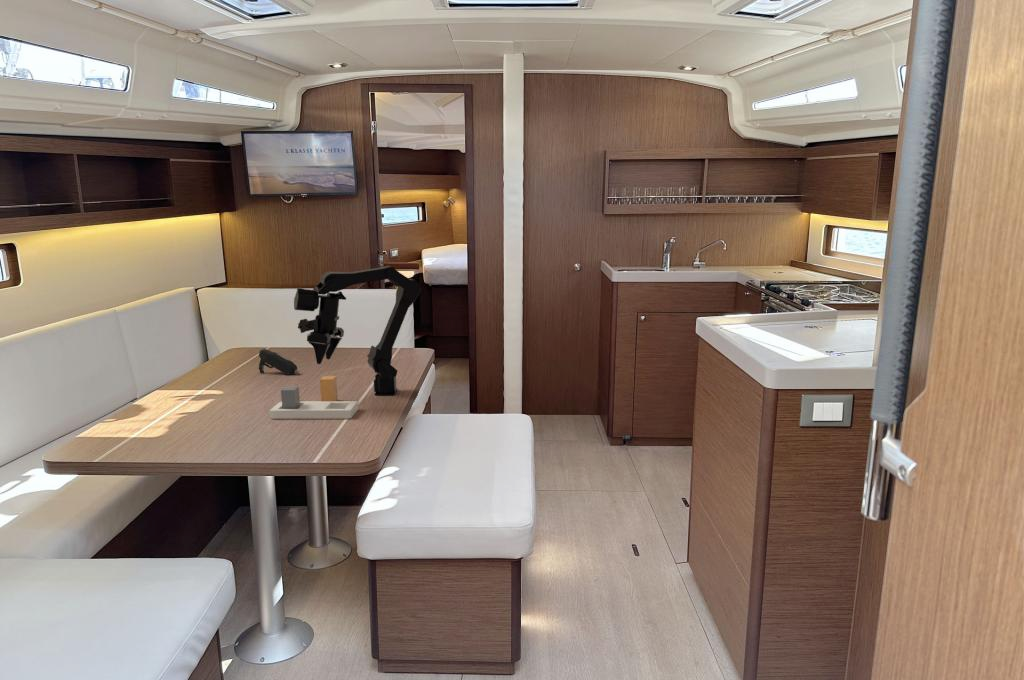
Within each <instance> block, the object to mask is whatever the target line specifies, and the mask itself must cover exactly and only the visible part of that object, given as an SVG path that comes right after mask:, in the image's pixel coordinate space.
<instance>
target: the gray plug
mask: <svg viewBox="0 0 1024 680" xmlns="http://www.w3.org/2000/svg"><path fill="white" fill-rule="evenodd" d="M280 396H281V398H280V399H281V402H282V409H298V408H299V407H300V401H301V397H300V387H299V385H298V386H297V385H295V386H284V387H282V389H280Z"/></svg>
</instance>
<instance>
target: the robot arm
mask: <svg viewBox="0 0 1024 680" xmlns="http://www.w3.org/2000/svg"><path fill="white" fill-rule="evenodd" d="M382 280H388V281H389V282H390V283H392V284H393V285H394V286H395V287H396V292H395V304H394V306H393V309H392V311H391V313H390V316H389V318H388V320H387V323H386V326H385V328H384V331H383V333H382V336H381V338H380V341H379V342H378V344H377V345H376V346H375V345H371V346H370V349H369V353H368V354H367V356H366V357H367V364H368V366H369V367H370V368H371V369H372V370H373V372H374V373H375V376H374V378H375V379H373V391H374V396H394V395H396V393H397V392H398V390H399V389H398V387H397V375H398V369H396V368H395V367H394V366H393V365H391V364H392V359H393V348H394V345H395V342H396V340H397V337H398V335H399V333H400V330H401V327H402V325H403V322H404V321H405V318H406V315H407V312H408V310H409V308H410V307H411V305H413V304H414V302H415V301H416V300H417V299H418V297H419V295H420V293H421V290H422V288H421V285H420V283H419V282H418V281H417V280H415V279H412V278H408V277H407V276H405V275H404V274H403V273H401V272H399V271H398V270H397V269H396V268H395V267H394V266H391V265H384V266H382V267H381V266H380V267H375V268H369V269H363V270H358V271H357V270H355V271H350V272H349V271H348V272H347V271H326V272H324V273H323V274H322V275H321V277H320V280H319V282H318V283H317V285H316V286H314V288H312V289H308V288H302V287H297V288H296V293H295V296H294V298H293V307H294V308H293V309H294V310H295V311H304V312H314V311H316V310H317V309H318V308H319V309H318V314H317V315H316V316H315V318H314V319H310V320H308V319H307V318H304V319H300V320H299V322H298V323H297V325H298V326H297V329H298V330H300V331H299V332H300V333H301V334H302V333H305V332H309V331H310V332H309V333H308V334H307V335H306V336H307V337H306V342H308V344H310V346H312V347H313V350H314V355H315V359H316V364H317V365H321V364H322V362H323V360H324V358H325V360H330V359H331V358H332V356H333V354H334V352H335V351H336V349H337V347H338V346H339V344H340V342H341V341H342V339H343V337H344V334H345V330H344V329H343V328H342V327H337V325H338V320H340V315H339V306H340V300H345V301H346V300H347V297H346V296H345V295H344V294H343V292H342V290H345V289H347V288H350V287H351V286H354V285H359V284H365V283H371V282H378V281H382ZM338 336H339V337H338Z"/></svg>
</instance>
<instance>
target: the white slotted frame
mask: <svg viewBox="0 0 1024 680" xmlns="http://www.w3.org/2000/svg"><path fill="white" fill-rule="evenodd" d="M358 410H359V401H356V400H351V401H350V400H347V401H345V400H343V401H342V400H341V401H339V400H338V401H319V400H318V401H317V400H315V401H310V400H309V401H307V400H305V401H304V400H303V401H301V400H300V407H299V408H298V409H282V401H279V402H277V404H276V405H274V406H273V407H272V408H271V409H269V412H268V413H269V419H271V420H273V419H275V420H277V419H280V420H284V419H285V420H287V419H288V420H290V419H291V420H292V419H295V420H297V419H299V420H302V419H303V420H305V419H307V420H308V419H313V420H314V419H316V420H317V419H318V420H319V419H321V420H323V419H325V420H326V419H327V420H330V419H335V420H337V419H340V420H341V419H343V420H344V419H345V420H346V419H347V420H348V419H352V417H353V416H354V415H355V414H356V412H357V411H358Z"/></svg>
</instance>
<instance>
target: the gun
mask: <svg viewBox="0 0 1024 680" xmlns="http://www.w3.org/2000/svg"><path fill="white" fill-rule="evenodd" d="M258 357H259V358H260V360H259V363H258V369H259V373H260V374H263V375H264V374H265V371H264V368H265V367H267V368H269V369H273V368H275V370H278V371H280V372H281V373H283V374H285V375H287V376H293V375H295V374H299V372H300V371H299V370H298V366H297V364H295V363H294V362H293V361H291V360H290V359H289V358H287V357H286V356H284V355H282V354H280V353H278V352H275V351H271V350H268V349H267V348H263V349H261V350H260V351H259V353H258Z"/></svg>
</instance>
